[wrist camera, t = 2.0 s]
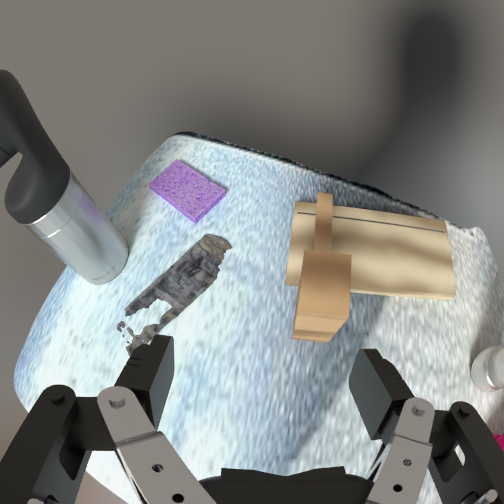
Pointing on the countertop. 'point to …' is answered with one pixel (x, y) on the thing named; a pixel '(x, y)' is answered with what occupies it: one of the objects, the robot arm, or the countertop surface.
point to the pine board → (380, 251)
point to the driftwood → (179, 285)
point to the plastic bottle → (489, 369)
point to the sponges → (187, 190)
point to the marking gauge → (322, 282)
